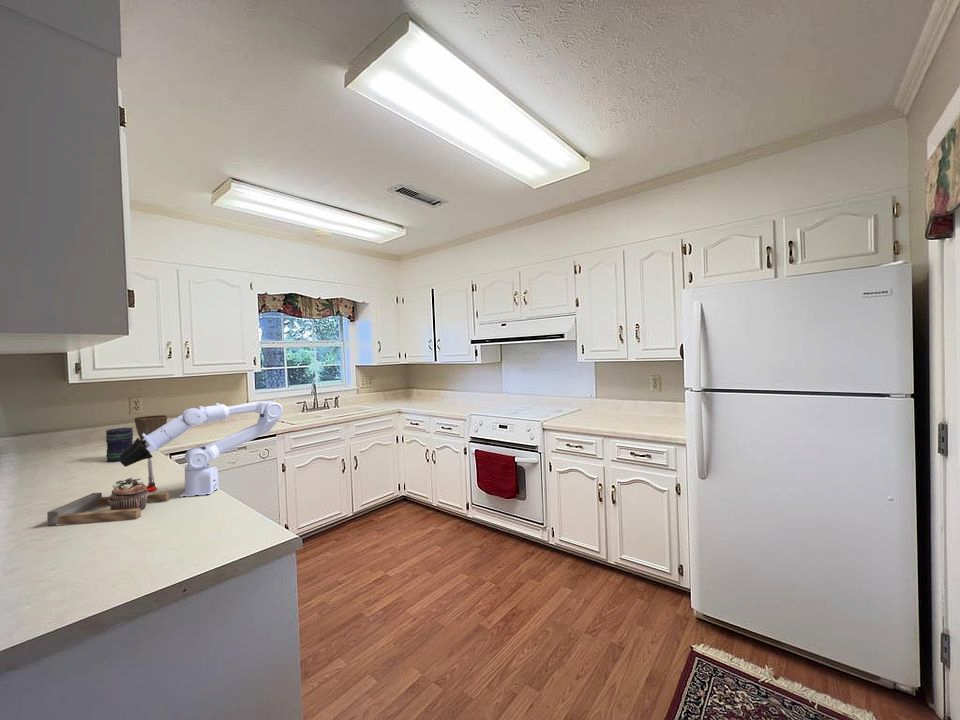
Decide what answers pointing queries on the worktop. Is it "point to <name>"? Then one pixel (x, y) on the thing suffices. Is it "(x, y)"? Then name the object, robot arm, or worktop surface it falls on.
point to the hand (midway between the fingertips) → (122, 461)
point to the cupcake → (128, 495)
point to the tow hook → (150, 477)
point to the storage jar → (118, 443)
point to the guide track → (78, 508)
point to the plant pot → (149, 424)
